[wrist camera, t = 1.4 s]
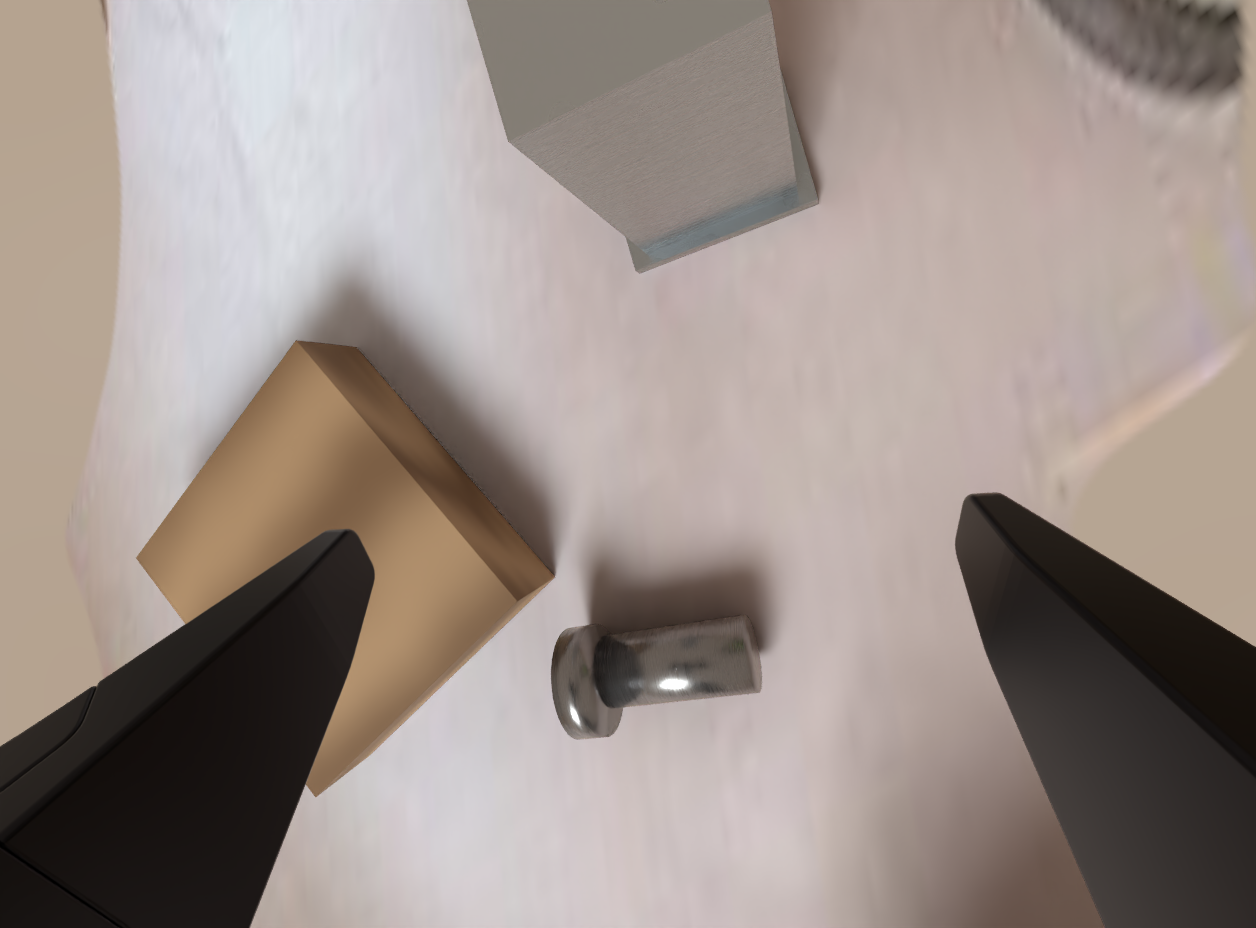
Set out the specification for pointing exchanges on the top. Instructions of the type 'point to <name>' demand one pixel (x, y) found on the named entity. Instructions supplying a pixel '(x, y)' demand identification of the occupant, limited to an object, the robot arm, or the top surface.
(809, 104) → the top surface
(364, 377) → the stand
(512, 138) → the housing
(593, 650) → the bolt
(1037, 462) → the top surface
